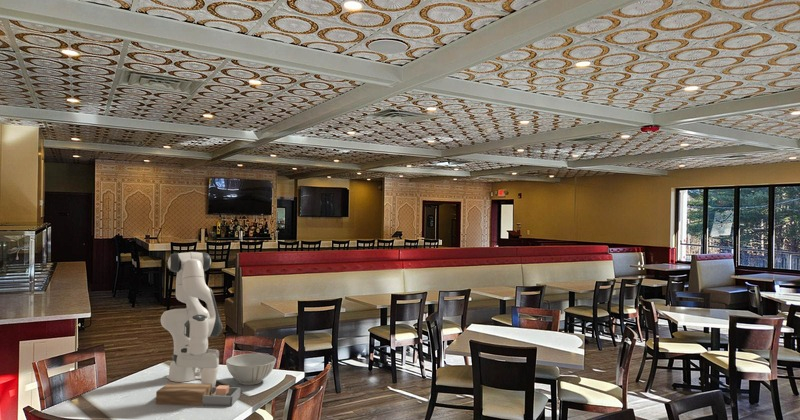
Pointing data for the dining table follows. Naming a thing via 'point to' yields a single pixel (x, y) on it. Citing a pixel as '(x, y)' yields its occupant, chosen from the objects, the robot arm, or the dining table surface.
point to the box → (222, 397)
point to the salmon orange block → (222, 390)
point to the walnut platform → (183, 393)
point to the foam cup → (209, 376)
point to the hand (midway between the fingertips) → (197, 376)
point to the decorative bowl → (250, 367)
